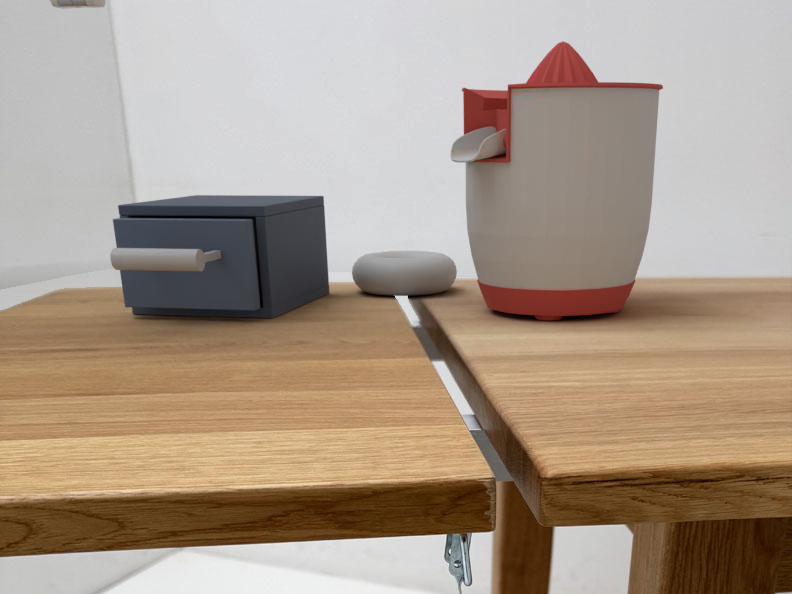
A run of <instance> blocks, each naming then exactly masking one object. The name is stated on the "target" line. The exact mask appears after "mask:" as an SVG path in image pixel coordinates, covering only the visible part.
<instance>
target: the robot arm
mask: <svg viewBox="0 0 792 594" xmlns="http://www.w3.org/2000/svg"><path fill="white" fill-rule="evenodd" d="M49 1H50V4H51V6H52V7H54V8H57V9H61V10H62V9H63V10H64V9H65V10H66V9H86V8H88V9H89V8H90V9H91V8H94V9H95V8H96V9H97V8H104V7H105V6H106V0H49Z"/></svg>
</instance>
